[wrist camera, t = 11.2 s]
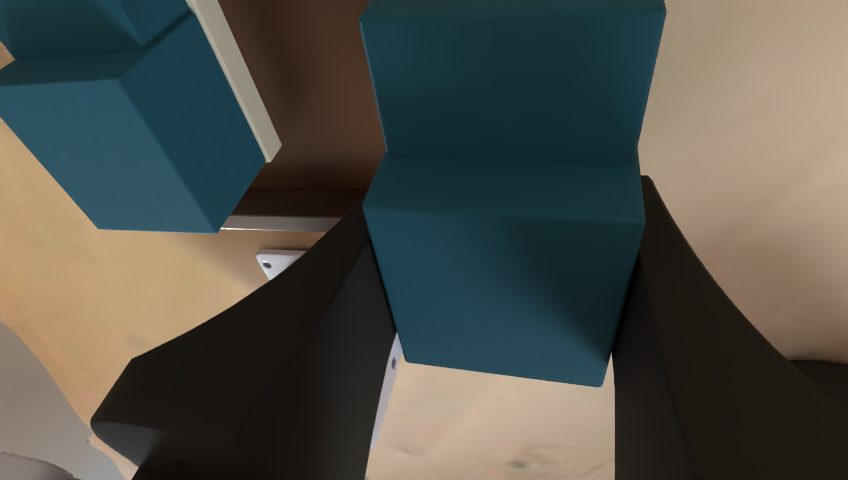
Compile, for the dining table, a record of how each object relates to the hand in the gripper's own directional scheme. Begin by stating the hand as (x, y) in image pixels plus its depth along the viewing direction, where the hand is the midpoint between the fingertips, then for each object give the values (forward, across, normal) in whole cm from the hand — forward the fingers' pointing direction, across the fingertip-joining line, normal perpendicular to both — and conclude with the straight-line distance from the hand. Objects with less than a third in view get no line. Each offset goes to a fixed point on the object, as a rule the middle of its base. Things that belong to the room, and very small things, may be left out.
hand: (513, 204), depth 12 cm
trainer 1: (+4, +11, -2) cm, 12 cm away
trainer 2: (+1, 0, -1) cm, 2 cm away
